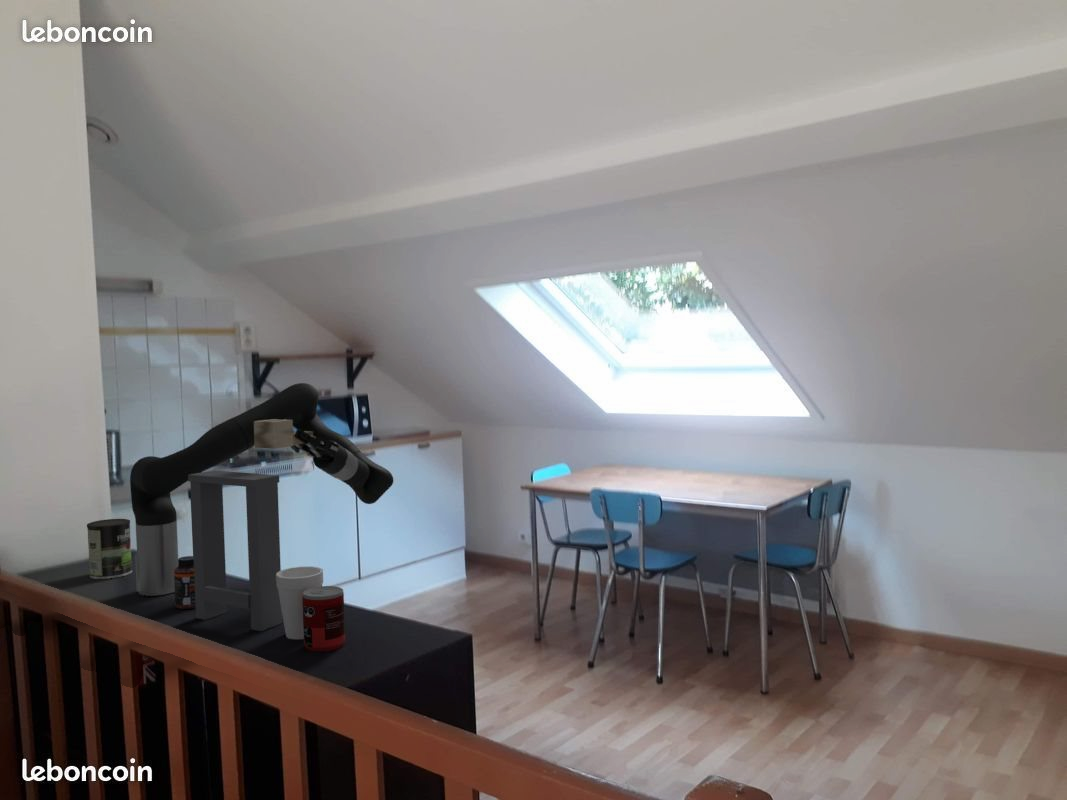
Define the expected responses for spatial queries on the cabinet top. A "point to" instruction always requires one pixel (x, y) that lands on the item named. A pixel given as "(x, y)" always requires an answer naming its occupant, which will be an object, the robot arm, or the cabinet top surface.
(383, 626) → the cabinet top surface
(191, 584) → the supplement bottle
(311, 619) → the canned food
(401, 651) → the cabinet top surface
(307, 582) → the foam cup
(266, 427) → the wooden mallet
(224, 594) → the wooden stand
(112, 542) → the coffee can
